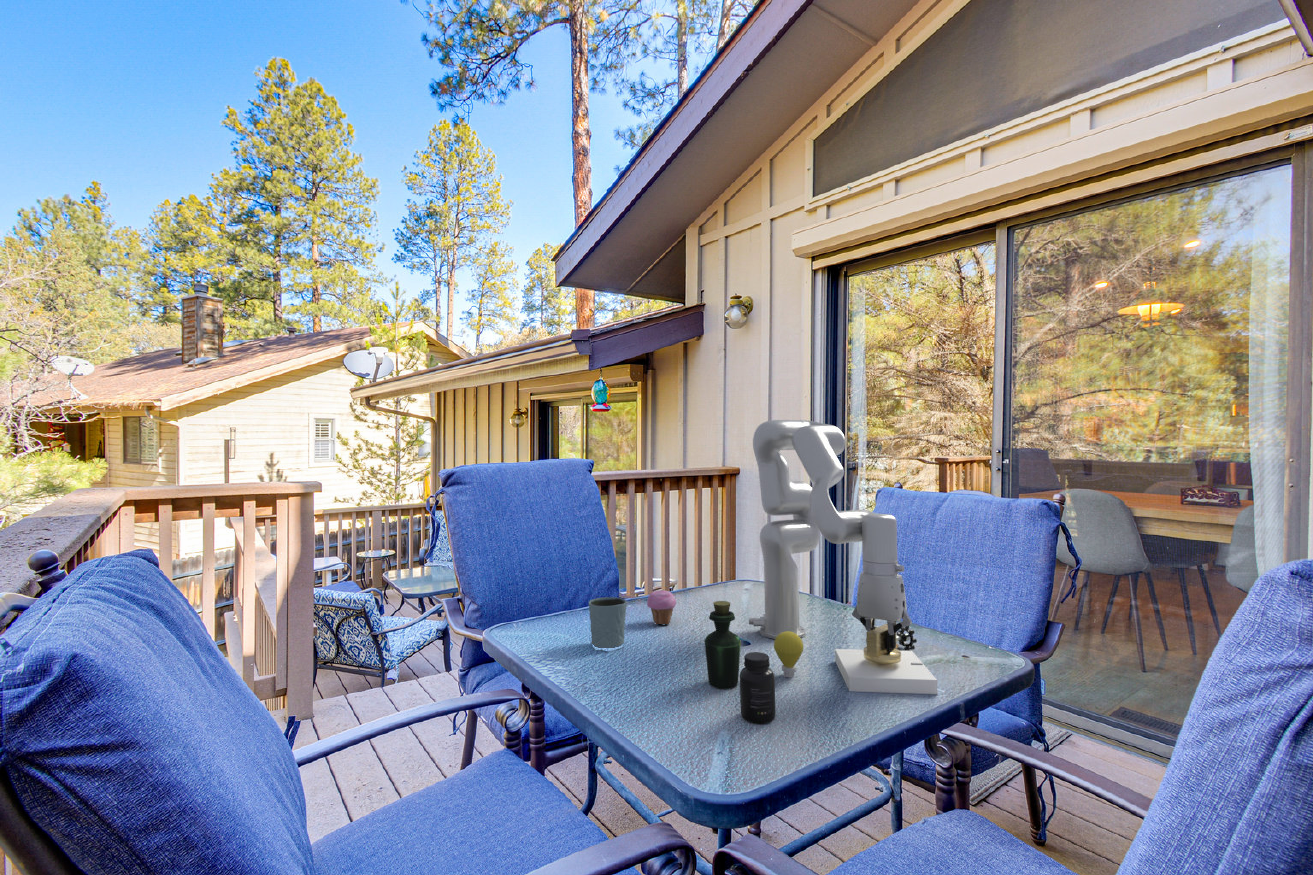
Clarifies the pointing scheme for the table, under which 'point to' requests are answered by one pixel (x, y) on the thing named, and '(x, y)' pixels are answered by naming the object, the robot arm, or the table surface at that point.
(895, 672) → the base plate
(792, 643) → the light bulb
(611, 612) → the grey cup
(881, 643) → the knob
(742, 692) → the supplement bottle
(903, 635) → the valve
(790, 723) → the table surface
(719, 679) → the potion bottle
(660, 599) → the cupcake
